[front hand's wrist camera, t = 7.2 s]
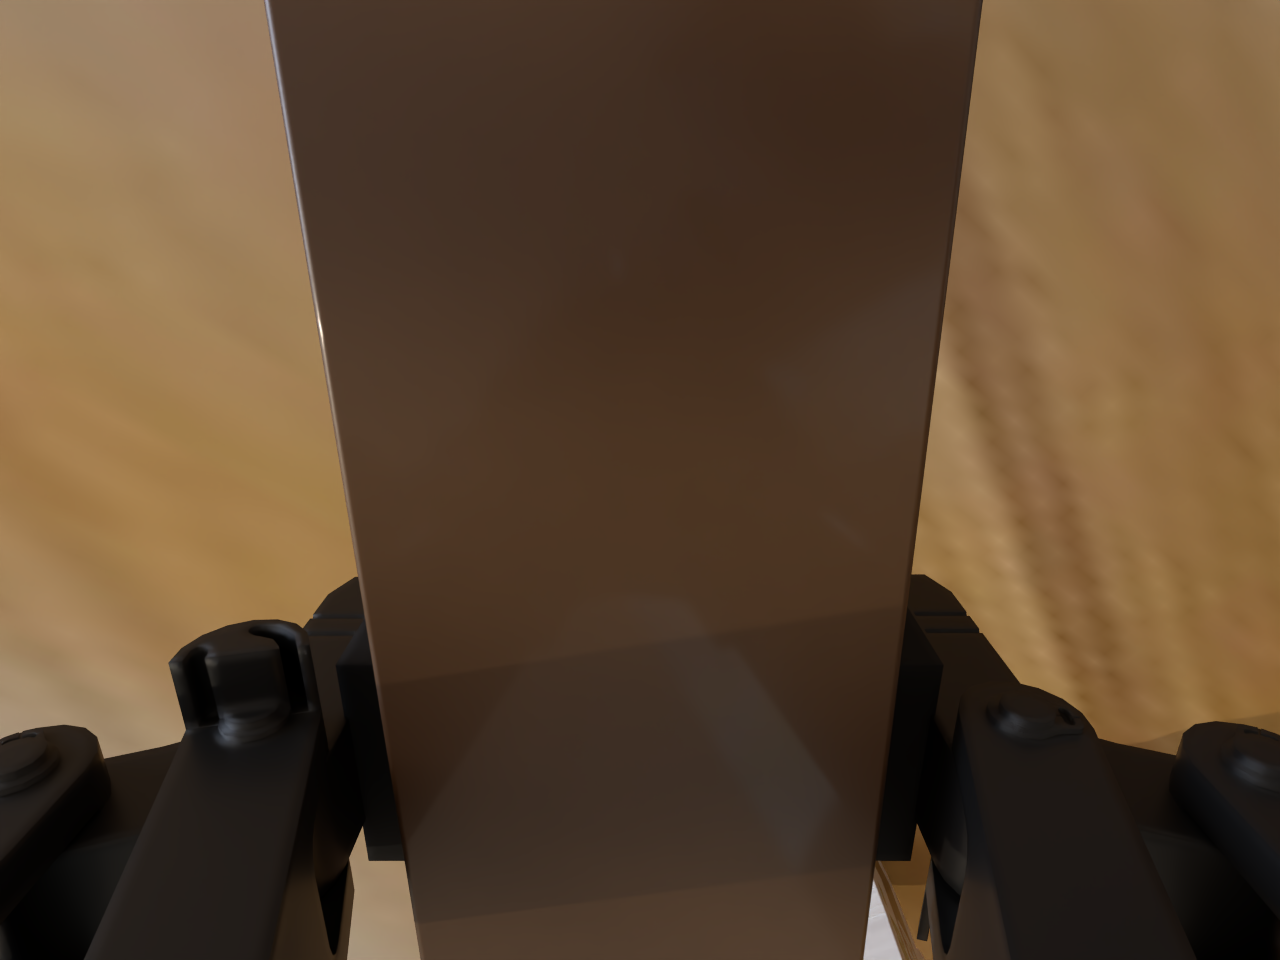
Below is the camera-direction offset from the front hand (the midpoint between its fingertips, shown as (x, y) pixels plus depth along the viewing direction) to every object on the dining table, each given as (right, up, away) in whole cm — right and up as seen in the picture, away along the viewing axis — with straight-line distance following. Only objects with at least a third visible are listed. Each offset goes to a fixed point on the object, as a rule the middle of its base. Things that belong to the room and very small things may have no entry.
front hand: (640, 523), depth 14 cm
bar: (0, +26, -9) cm, 28 cm away
